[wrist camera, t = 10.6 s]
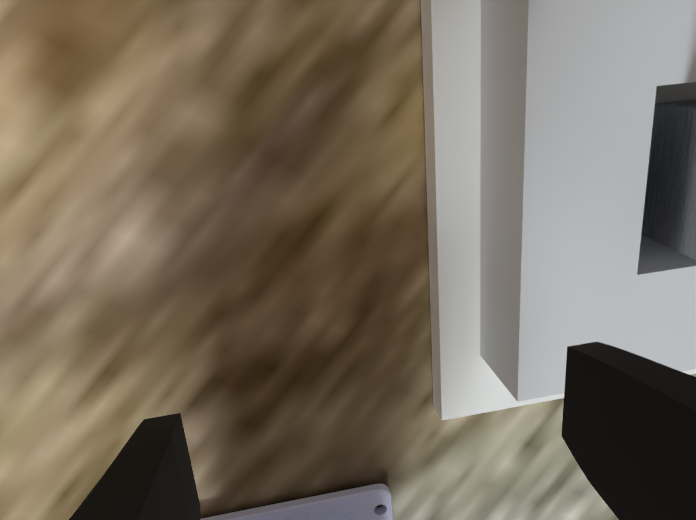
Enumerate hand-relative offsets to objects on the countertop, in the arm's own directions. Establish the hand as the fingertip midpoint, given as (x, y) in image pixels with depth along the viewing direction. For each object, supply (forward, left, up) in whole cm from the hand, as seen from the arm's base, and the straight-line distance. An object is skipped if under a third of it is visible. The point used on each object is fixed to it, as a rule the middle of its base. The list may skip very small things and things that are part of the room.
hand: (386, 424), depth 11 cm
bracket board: (+2, -12, -10) cm, 16 cm away
